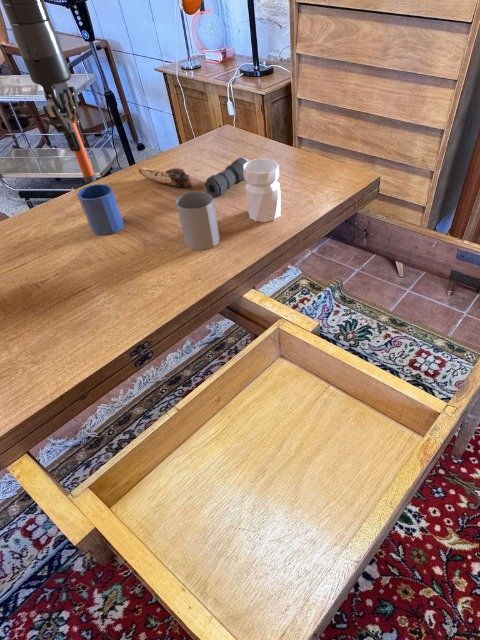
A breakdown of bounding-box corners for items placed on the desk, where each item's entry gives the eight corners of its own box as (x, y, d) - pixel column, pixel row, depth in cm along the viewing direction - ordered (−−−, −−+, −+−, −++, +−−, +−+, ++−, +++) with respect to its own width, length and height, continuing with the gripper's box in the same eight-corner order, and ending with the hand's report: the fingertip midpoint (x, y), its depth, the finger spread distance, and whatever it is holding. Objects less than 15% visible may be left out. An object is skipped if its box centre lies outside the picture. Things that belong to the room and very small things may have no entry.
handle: (83, 182, 102) (60, 124, 93) (86, 177, 104) (64, 120, 95) (94, 182, 102) (73, 124, 93) (97, 177, 104) (76, 120, 95)
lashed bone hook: (204, 181, 129) (155, 169, 134) (202, 164, 125) (151, 152, 130) (185, 194, 123) (134, 180, 128) (182, 177, 120) (130, 163, 125)
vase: (279, 222, 112) (277, 174, 103) (246, 222, 113) (240, 173, 103) (282, 205, 118) (280, 158, 109) (250, 205, 118) (245, 158, 109)
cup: (182, 235, 109) (172, 195, 101) (214, 228, 111) (207, 188, 103) (189, 253, 104) (180, 212, 96) (223, 245, 106) (216, 204, 98)
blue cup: (88, 235, 110) (73, 200, 103) (96, 219, 115) (82, 184, 108) (120, 234, 110) (107, 199, 103) (127, 218, 115) (115, 183, 108)
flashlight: (220, 201, 120) (217, 180, 116) (204, 196, 122) (201, 176, 118) (253, 178, 128) (251, 159, 124) (238, 174, 130) (235, 155, 126)
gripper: (34, 42, 89) (70, 136, 102) (7, 61, 80) (51, 161, 93) (71, 41, 89) (103, 135, 102) (49, 60, 80) (86, 160, 93)
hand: (78, 147), depth 98 cm, fingers closed on handle, 2 cm apart
